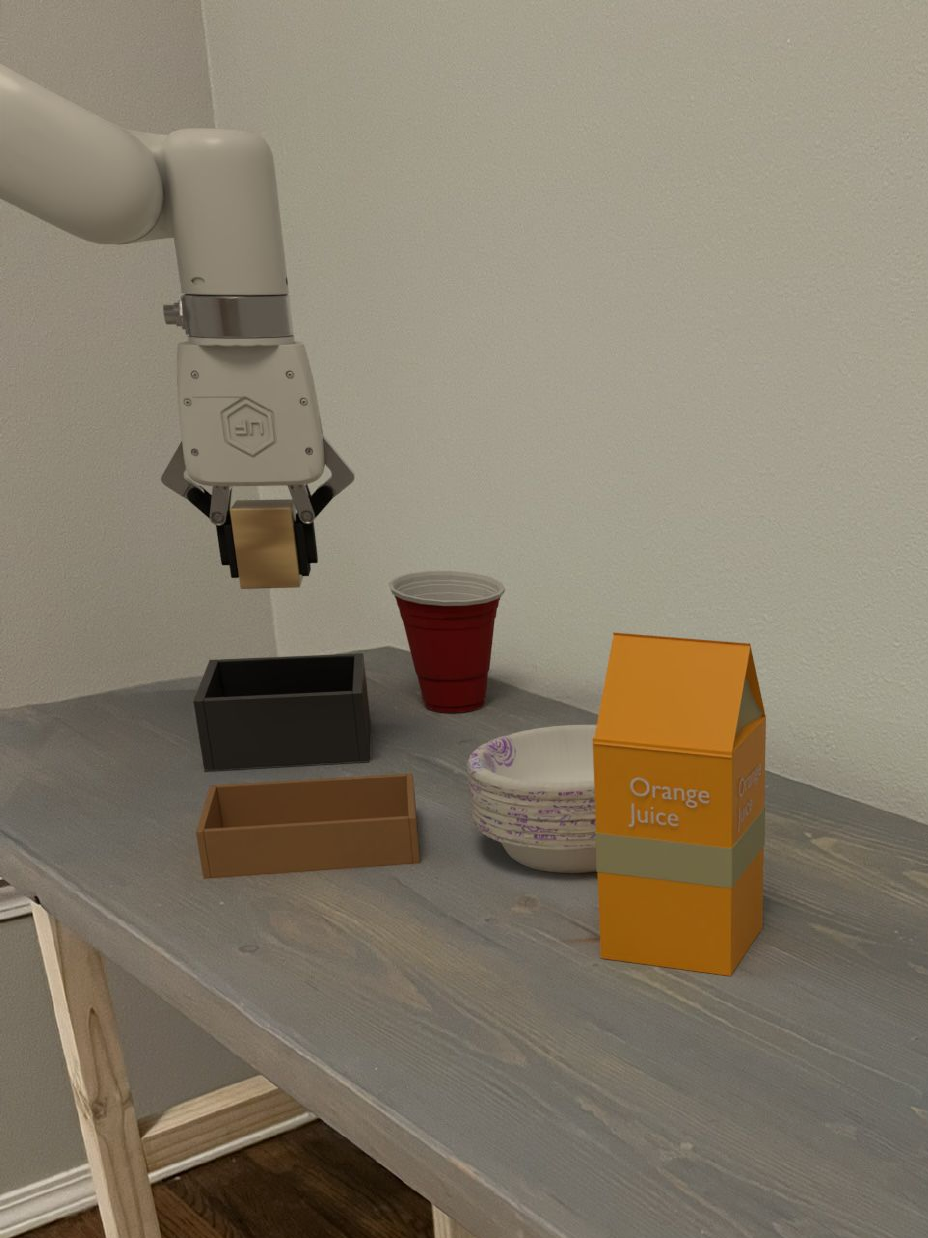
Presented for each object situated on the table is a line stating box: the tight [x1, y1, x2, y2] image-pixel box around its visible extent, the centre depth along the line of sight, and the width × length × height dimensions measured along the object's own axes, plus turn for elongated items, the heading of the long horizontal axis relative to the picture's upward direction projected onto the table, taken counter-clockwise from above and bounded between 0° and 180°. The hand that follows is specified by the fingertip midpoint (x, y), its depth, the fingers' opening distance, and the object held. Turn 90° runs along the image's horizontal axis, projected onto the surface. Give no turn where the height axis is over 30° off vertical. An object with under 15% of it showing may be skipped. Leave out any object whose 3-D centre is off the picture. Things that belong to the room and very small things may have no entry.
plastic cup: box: [388, 570, 506, 714], centre depth 142 cm, size 11×11×12 cm
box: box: [195, 772, 421, 880], centre depth 109 cm, size 15×10×4 cm, turn 102°
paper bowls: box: [466, 724, 597, 874], centre depth 109 cm, size 15×15×8 cm
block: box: [230, 498, 304, 590], centre depth 116 cm, size 4×4×6 cm
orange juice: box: [593, 632, 767, 977], centre depth 92 cm, size 8×9×20 cm
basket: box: [192, 652, 372, 773], centre depth 131 cm, size 14×14×7 cm
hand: (271, 571), depth 117 cm, fingers closed on block, 4 cm apart
